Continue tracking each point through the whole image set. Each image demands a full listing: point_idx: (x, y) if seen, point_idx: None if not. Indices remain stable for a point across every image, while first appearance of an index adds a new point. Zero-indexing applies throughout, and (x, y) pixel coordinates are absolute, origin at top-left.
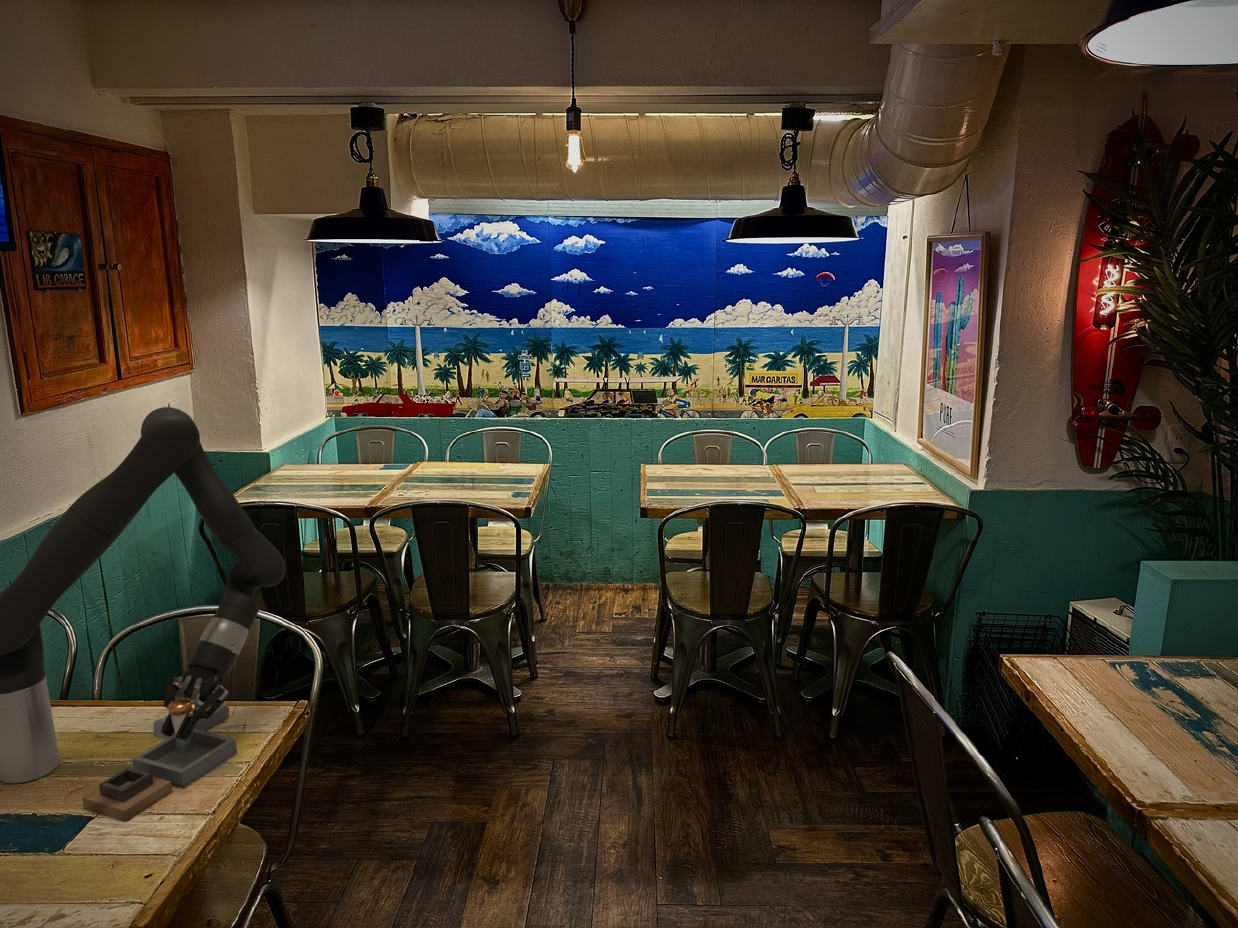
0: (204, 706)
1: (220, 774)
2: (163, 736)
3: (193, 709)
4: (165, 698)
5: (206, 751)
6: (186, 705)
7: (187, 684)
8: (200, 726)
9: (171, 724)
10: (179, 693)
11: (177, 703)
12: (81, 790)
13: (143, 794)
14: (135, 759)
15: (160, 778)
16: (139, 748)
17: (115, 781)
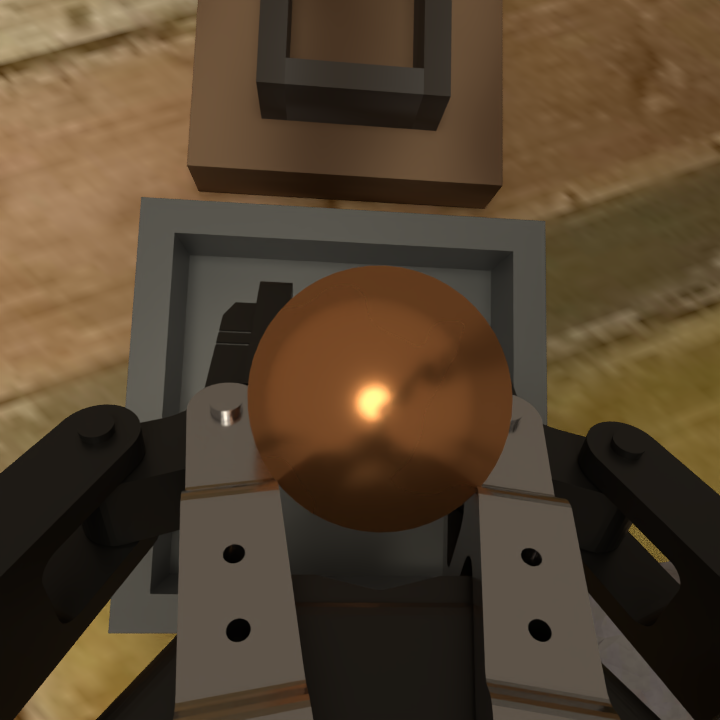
0: (28, 488)
1: (74, 395)
2: (674, 570)
3: (198, 440)
4: (701, 490)
5: (296, 523)
6: (250, 393)
7: (497, 699)
8: None
9: None
10: (534, 544)
11: (407, 392)
12: (620, 75)
13: (233, 33)
14: (523, 223)
15: (269, 171)
16: (698, 442)
17: (421, 8)
